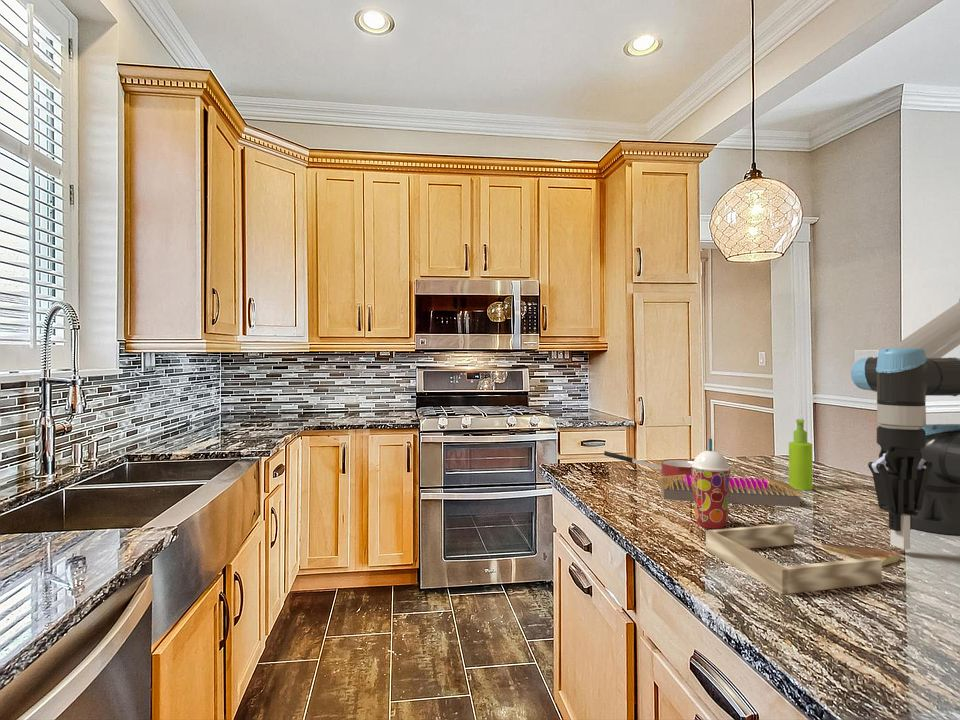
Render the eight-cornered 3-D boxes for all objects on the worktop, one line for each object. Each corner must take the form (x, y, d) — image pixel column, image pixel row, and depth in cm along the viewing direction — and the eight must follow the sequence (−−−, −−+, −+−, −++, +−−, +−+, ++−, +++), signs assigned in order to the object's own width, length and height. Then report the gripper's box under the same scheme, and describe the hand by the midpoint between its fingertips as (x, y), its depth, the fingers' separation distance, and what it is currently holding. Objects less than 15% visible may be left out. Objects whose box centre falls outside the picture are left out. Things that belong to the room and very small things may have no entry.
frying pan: (600, 474, 176) (600, 455, 176) (606, 466, 188) (606, 449, 188) (704, 482, 164) (704, 461, 164) (703, 473, 176) (703, 454, 176)
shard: (820, 550, 107) (820, 541, 107) (843, 544, 111) (843, 536, 111) (880, 570, 98) (880, 560, 98) (903, 562, 101) (903, 553, 101)
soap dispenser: (812, 486, 158) (812, 419, 158) (812, 491, 152) (811, 421, 152) (789, 483, 161) (789, 418, 161) (788, 488, 155) (788, 420, 155)
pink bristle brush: (787, 495, 149) (787, 473, 149) (804, 509, 136) (804, 485, 136) (656, 488, 158) (656, 468, 158) (660, 501, 145) (660, 479, 144)
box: (789, 542, 111) (789, 523, 111) (881, 583, 91) (881, 559, 91) (705, 550, 107) (705, 530, 107) (782, 594, 87) (782, 570, 87)
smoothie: (700, 517, 128) (700, 435, 128) (736, 525, 123) (736, 438, 122) (685, 525, 123) (684, 439, 123) (722, 533, 117) (721, 442, 117)
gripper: (908, 423, 109) (908, 538, 109) (855, 424, 106) (855, 542, 106) (947, 428, 101) (947, 551, 102) (891, 429, 99) (890, 556, 99)
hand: (900, 546), depth 104 cm, fingers closed
